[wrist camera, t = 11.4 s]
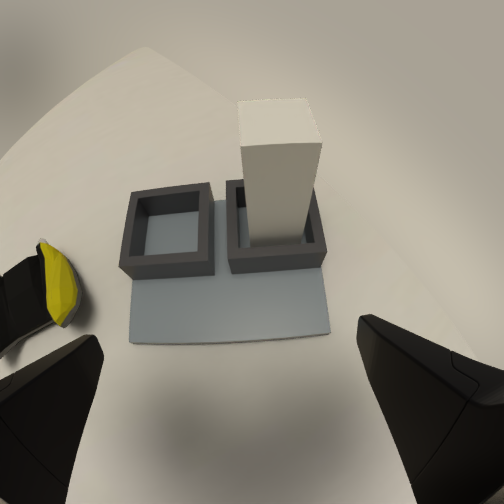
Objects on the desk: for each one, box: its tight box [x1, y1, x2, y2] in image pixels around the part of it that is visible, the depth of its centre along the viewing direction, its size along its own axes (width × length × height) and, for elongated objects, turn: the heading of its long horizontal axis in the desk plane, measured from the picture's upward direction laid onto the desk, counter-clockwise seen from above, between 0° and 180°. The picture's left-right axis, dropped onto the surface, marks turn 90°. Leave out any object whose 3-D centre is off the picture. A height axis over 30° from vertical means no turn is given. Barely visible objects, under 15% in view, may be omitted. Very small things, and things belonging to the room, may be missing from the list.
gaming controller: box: [0, 238, 82, 359], centre depth 21 cm, size 15×6×10 cm
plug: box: [237, 98, 322, 247], centre depth 19 cm, size 4×4×12 cm
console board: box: [119, 179, 331, 345], centre depth 23 cm, size 13×16×4 cm
